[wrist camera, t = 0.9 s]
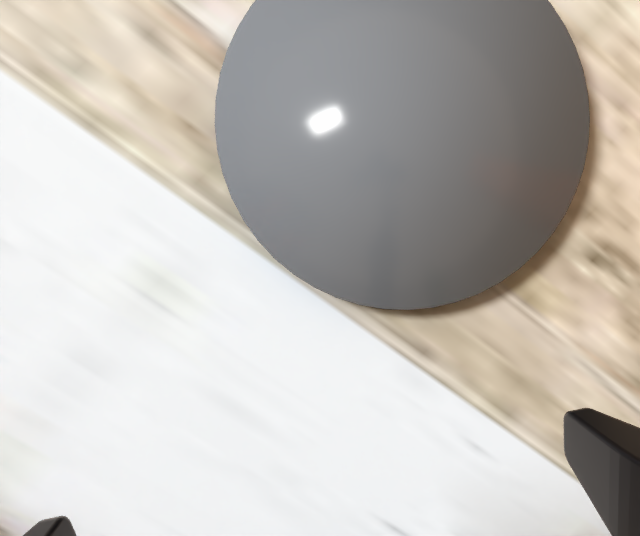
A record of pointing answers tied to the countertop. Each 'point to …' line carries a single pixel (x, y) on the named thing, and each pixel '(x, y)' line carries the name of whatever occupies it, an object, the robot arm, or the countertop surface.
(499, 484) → the countertop surface
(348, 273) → the slate plate
